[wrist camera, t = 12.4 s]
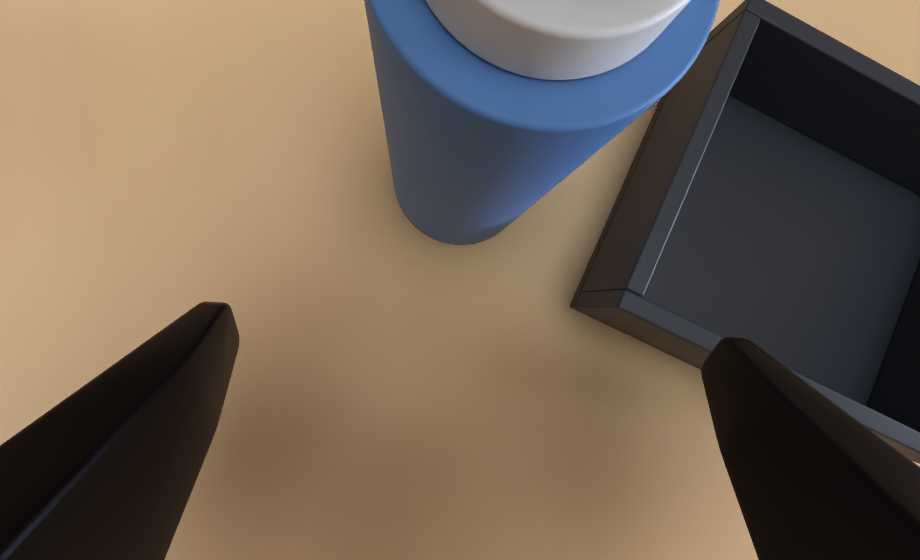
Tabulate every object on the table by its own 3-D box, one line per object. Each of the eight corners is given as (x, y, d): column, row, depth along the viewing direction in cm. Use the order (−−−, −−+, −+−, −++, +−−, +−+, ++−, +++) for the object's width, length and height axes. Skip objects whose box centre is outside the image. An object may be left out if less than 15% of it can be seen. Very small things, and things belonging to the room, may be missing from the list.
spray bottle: (519, 250, 17) (1043, -12, 3) (389, 239, 16) (244, -144, 2) (527, 123, 17) (1038, -681, 3) (399, 109, 17) (326, -914, 3)
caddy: (853, 443, 18) (981, 483, 14) (569, 306, 17) (617, 307, 13) (941, 202, 19) (1085, 175, 15) (676, 61, 18) (752, -8, 14)
